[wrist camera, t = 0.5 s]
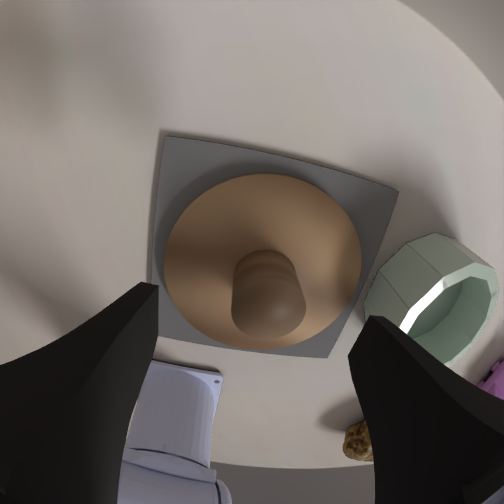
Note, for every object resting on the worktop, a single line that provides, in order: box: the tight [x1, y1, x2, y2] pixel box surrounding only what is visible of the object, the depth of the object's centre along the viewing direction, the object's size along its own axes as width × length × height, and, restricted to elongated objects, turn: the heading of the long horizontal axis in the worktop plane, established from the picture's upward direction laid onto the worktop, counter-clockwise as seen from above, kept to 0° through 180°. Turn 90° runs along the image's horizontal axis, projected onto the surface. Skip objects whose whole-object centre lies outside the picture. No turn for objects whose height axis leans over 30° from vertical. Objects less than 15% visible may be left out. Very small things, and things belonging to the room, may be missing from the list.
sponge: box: [343, 419, 374, 461], centre depth 27 cm, size 13×8×20 cm
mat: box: [151, 136, 399, 358], centre depth 18 cm, size 15×15×1 cm
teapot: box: [476, 360, 504, 400], centre depth 25 cm, size 18×13×10 cm
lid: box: [164, 173, 362, 350], centre depth 16 cm, size 13×13×4 cm
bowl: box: [364, 233, 499, 367], centre depth 18 cm, size 11×11×5 cm
